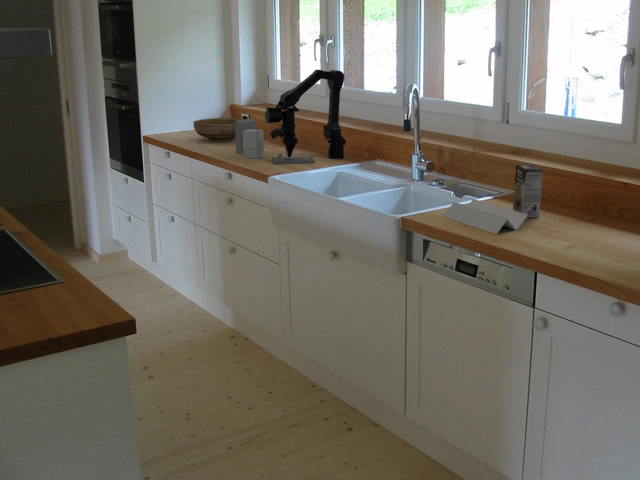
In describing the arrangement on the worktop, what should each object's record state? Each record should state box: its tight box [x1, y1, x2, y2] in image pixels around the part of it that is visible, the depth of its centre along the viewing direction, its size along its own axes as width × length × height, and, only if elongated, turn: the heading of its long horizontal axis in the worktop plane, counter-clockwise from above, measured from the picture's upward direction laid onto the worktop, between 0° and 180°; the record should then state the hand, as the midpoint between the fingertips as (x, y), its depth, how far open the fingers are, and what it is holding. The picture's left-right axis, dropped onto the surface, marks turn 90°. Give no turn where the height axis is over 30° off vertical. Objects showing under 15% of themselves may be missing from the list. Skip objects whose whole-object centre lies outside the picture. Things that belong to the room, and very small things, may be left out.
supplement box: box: [243, 128, 265, 159], centre depth 365 cm, size 7×7×13 cm
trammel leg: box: [284, 145, 294, 159], centre depth 355 cm, size 3×3×6 cm
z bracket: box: [442, 198, 528, 235], centre depth 251 cm, size 12×25×6 cm
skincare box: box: [235, 118, 257, 155], centre depth 376 cm, size 8×7×16 cm
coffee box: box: [512, 163, 544, 219], centre depth 259 cm, size 9×6×16 cm
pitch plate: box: [271, 153, 316, 165], centre depth 356 cm, size 18×12×4 cm, turn 98°
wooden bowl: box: [192, 117, 245, 143], centre depth 414 cm, size 37×29×10 cm
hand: (288, 156), depth 355 cm, fingers closed on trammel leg, 3 cm apart
